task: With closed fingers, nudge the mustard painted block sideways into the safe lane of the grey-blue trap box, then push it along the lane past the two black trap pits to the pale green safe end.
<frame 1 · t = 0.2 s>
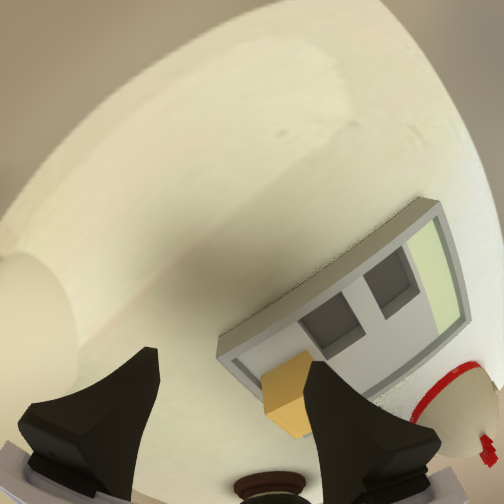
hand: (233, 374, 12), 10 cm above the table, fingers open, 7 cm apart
block: (297, 378, 21), point 2 cm above the table, touching trap box
trap box: (360, 326, 23), on the table
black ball: (269, 484, 31), on the table
kitchen timer: (446, 398, 28), on the table
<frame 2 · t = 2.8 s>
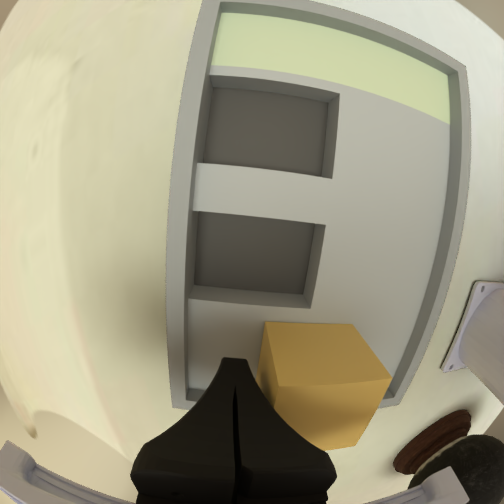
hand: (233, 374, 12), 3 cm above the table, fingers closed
block: (302, 360, 13), point 2 cm above the table, touching gripper, trap box
trap box: (323, 219, 13), on the table
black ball: (432, 441, 21), on the table
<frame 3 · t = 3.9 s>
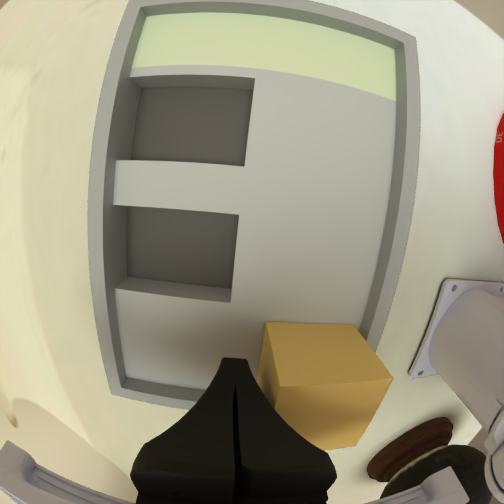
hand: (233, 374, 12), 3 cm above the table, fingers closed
block: (302, 360, 13), point 2 cm above the table, touching gripper, trap box
trap box: (249, 210, 13), on the table
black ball: (410, 448, 21), on the table
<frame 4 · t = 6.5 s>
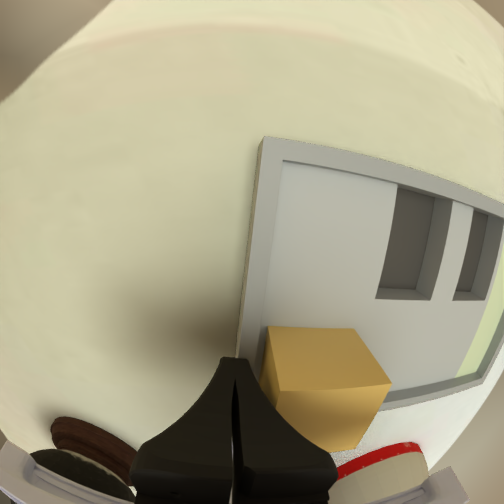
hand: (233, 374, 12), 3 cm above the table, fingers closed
block: (303, 363, 13), point 2 cm above the table, touching gripper, trap box
trap box: (410, 295, 15), on the table
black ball: (99, 450, 19), on the table
kitchen timer: (367, 474, 22), on the table
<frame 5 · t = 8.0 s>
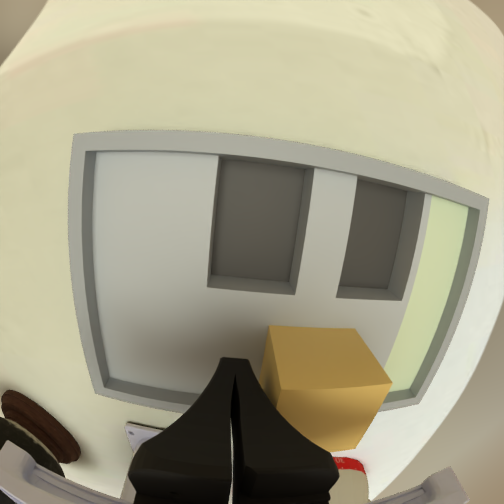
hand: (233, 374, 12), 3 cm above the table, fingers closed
block: (304, 363, 13), point 2 cm above the table, touching gripper
trap box: (286, 288, 14), on the table
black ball: (40, 426, 18), on the table
kitchen timer: (301, 484, 21), on the table
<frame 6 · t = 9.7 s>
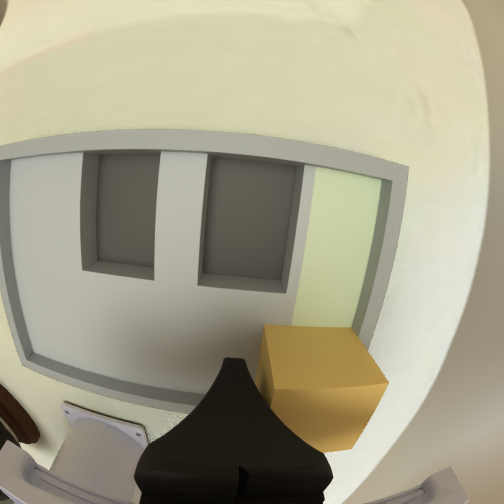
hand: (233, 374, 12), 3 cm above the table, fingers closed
block: (301, 362, 13), point 2 cm above the table, touching gripper, trap box
trap box: (165, 276, 14), on the table
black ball: (6, 407, 18), on the table
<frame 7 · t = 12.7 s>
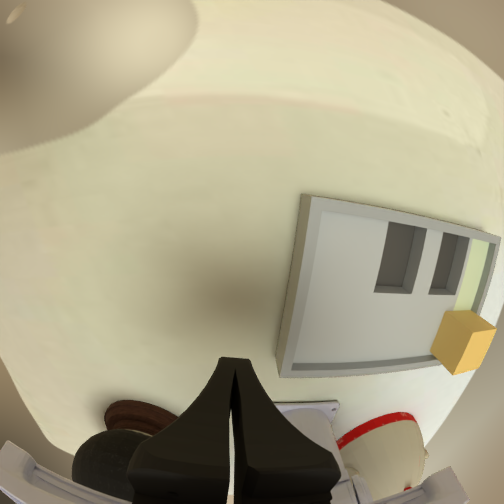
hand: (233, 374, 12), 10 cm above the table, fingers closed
block: (451, 330, 21), point 2 cm above the table, touching trap box
trap box: (398, 290, 22), on the table
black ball: (148, 429, 26), on the table
kitchen timer: (371, 442, 29), on the table
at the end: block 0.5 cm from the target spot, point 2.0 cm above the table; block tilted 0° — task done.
